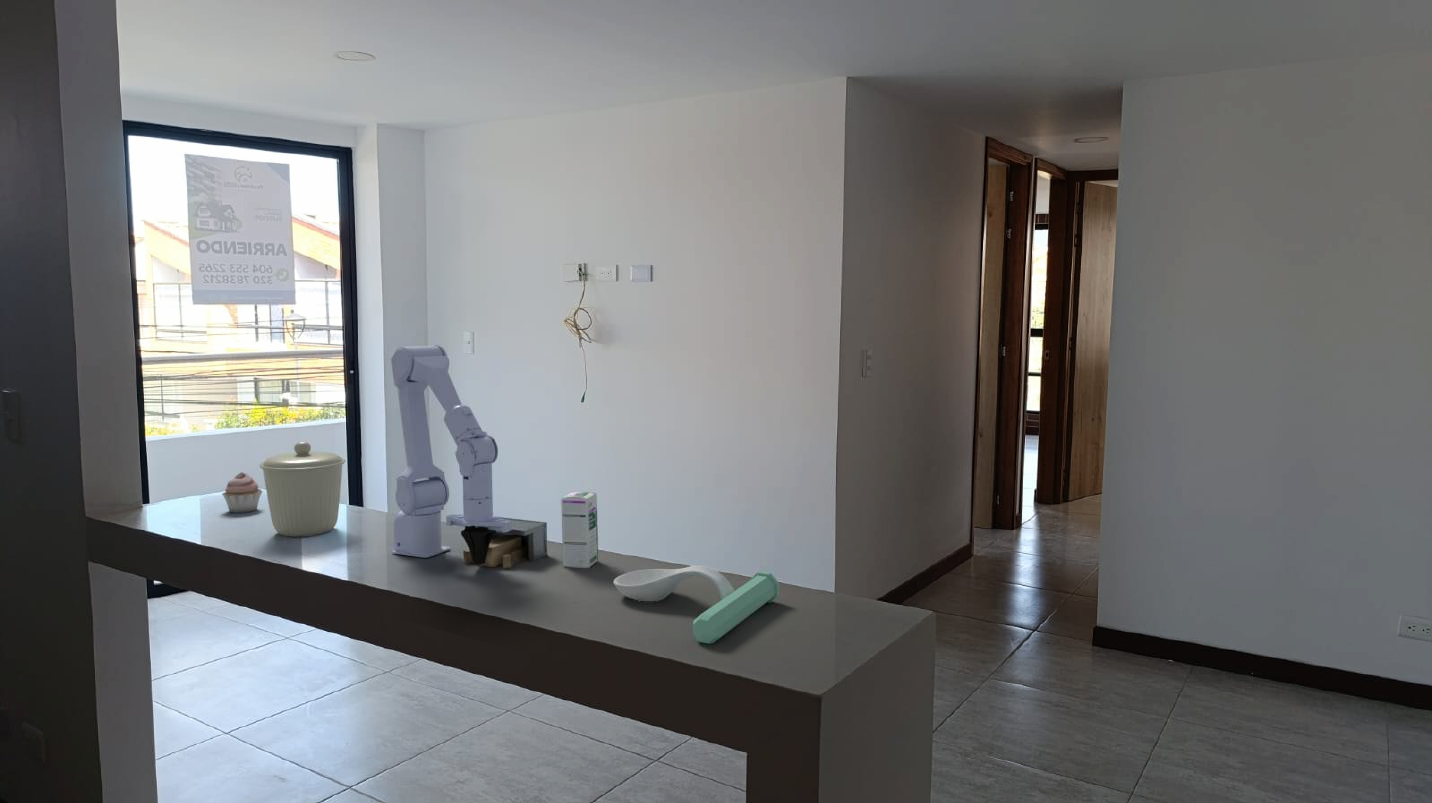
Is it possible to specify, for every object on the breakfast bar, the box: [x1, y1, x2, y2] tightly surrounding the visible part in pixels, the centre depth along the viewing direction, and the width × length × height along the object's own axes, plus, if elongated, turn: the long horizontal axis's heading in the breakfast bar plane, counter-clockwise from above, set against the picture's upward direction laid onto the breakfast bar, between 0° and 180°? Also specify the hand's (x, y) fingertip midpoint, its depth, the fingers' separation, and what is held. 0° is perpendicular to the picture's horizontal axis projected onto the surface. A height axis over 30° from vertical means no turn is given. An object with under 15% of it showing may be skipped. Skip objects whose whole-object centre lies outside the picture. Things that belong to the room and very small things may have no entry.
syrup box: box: [560, 491, 599, 569], centre depth 193 cm, size 6×6×14 cm
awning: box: [462, 515, 548, 569], centre depth 197 cm, size 14×12×7 cm
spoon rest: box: [613, 564, 735, 603], centre depth 169 cm, size 24×12×7 cm, turn 62°
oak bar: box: [479, 535, 521, 568], centre depth 196 cm, size 4×10×4 cm, turn 157°
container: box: [692, 571, 780, 644], centre depth 159 cm, size 6×6×25 cm
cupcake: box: [221, 471, 263, 514], centre depth 240 cm, size 9×9×10 cm
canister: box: [259, 441, 346, 538], centre depth 218 cm, size 18×18×21 cm
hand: (479, 563), depth 190 cm, fingers closed, pressing on oak bar
